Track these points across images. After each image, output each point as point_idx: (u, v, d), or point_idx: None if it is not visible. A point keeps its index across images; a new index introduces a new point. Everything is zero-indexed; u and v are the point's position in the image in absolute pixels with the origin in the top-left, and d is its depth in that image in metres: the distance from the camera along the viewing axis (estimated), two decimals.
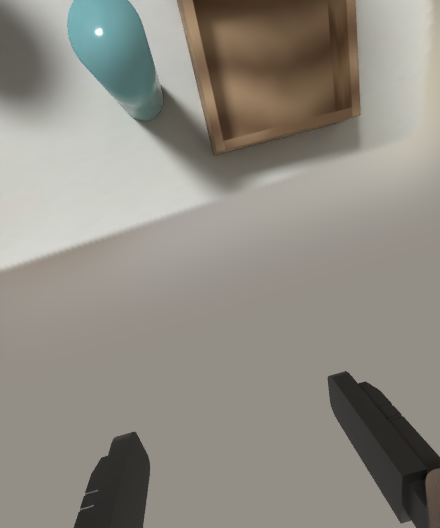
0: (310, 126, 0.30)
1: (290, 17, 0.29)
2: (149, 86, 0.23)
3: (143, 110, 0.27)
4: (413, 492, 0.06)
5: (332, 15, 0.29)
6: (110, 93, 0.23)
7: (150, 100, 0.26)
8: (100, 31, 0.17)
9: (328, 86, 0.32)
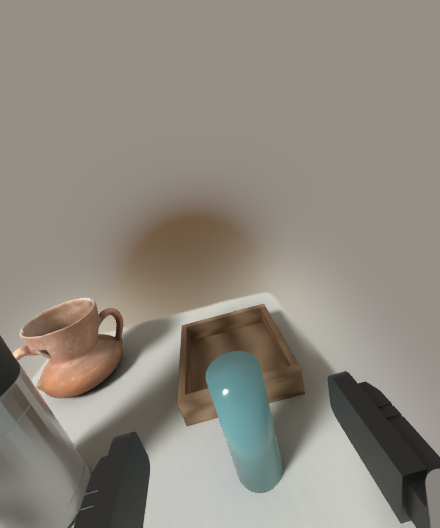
0: (272, 321, 0.44)
1: (211, 351, 0.46)
2: None
3: None
4: (413, 492, 0.06)
5: (213, 331, 0.50)
6: (265, 425, 0.23)
7: None
8: (230, 374, 0.23)
9: (248, 328, 0.50)
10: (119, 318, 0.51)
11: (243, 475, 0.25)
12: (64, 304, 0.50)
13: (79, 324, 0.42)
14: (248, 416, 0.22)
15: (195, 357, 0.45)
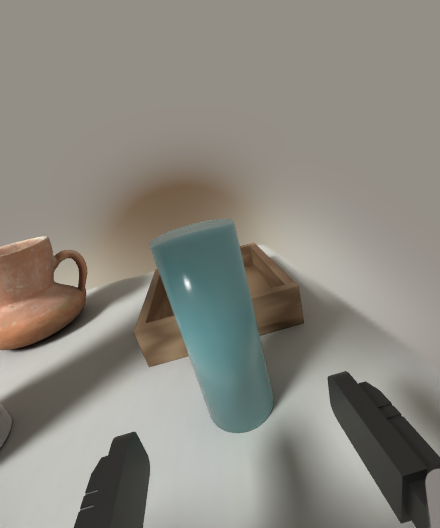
0: (264, 253, 0.36)
1: None
2: None
3: None
4: (413, 492, 0.06)
5: None
6: (243, 317, 0.15)
7: None
8: (187, 234, 0.15)
9: None
10: (81, 262, 0.42)
11: (214, 405, 0.17)
12: (14, 245, 0.41)
13: (21, 254, 0.33)
14: (213, 289, 0.14)
15: None
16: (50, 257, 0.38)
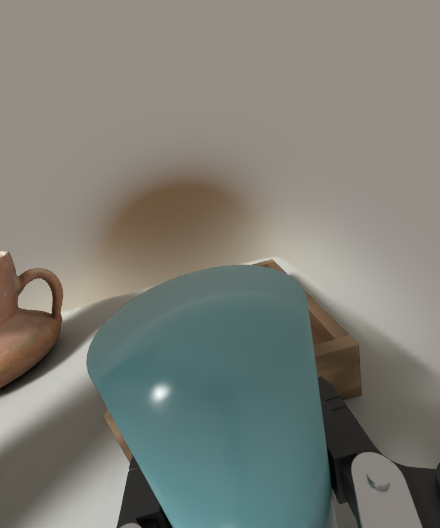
0: None
1: None
2: None
3: None
4: (344, 474, 0.07)
5: None
6: (320, 515, 0.06)
7: None
8: (185, 320, 0.06)
9: None
10: (54, 283, 0.33)
11: None
12: None
13: None
14: (260, 496, 0.05)
15: None
16: (10, 280, 0.29)
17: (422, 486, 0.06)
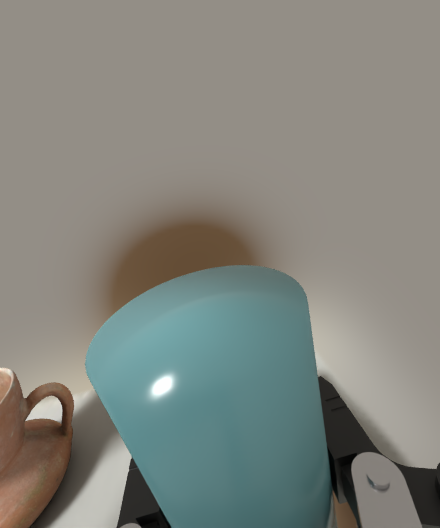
0: None
1: None
2: None
3: None
4: (344, 474, 0.07)
5: None
6: (321, 517, 0.06)
7: None
8: (184, 321, 0.06)
9: None
10: (64, 399, 0.30)
11: None
12: None
13: None
14: (260, 499, 0.05)
15: None
16: (17, 414, 0.26)
17: (422, 486, 0.06)
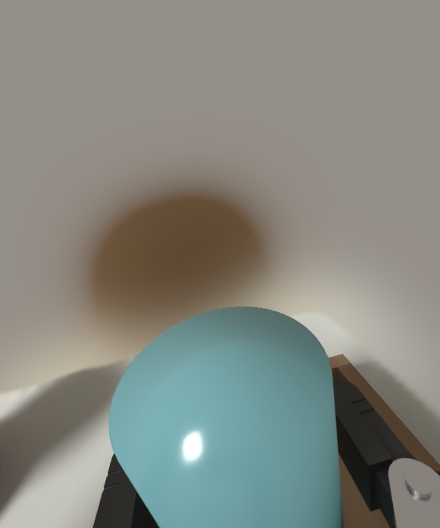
0: (410, 435, 0.13)
1: None
2: None
3: None
4: (379, 481, 0.07)
5: None
6: None
7: None
8: (206, 383, 0.06)
9: None
10: None
11: None
12: None
13: None
14: None
15: None
16: None
17: None
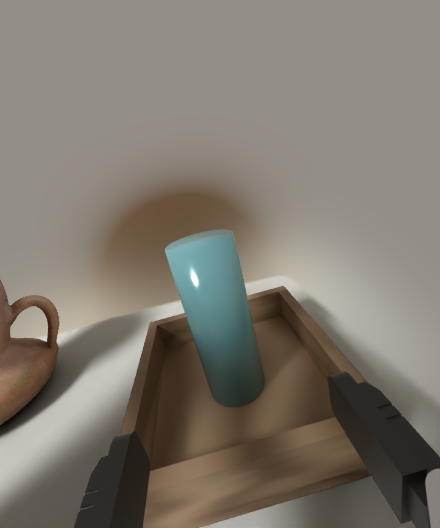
0: (305, 312, 0.25)
1: (196, 366, 0.26)
2: None
3: None
4: (413, 492, 0.06)
5: None
6: (239, 310, 0.18)
7: None
8: (195, 242, 0.18)
9: (258, 326, 0.30)
10: (49, 312, 0.31)
11: (214, 383, 0.21)
12: None
13: None
14: (216, 287, 0.17)
15: (169, 377, 0.26)
16: (1, 312, 0.27)
17: None
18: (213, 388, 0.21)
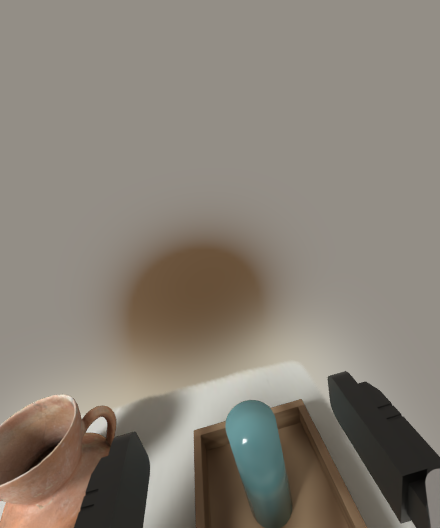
0: (321, 440, 0.32)
1: (235, 477, 0.34)
2: None
3: None
4: (413, 492, 0.06)
5: None
6: (279, 473, 0.25)
7: None
8: (248, 427, 0.25)
9: (281, 433, 0.37)
10: (111, 419, 0.38)
11: (257, 513, 0.28)
12: (37, 403, 0.37)
13: (52, 458, 0.29)
14: (265, 466, 0.24)
15: (214, 487, 0.33)
16: (80, 433, 0.34)
17: None
18: (255, 514, 0.28)
